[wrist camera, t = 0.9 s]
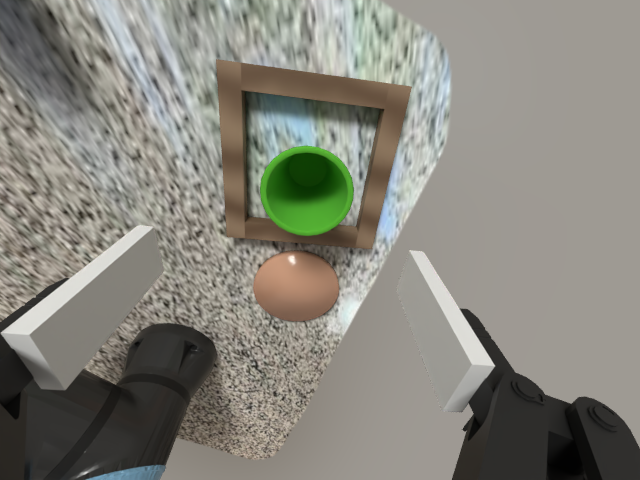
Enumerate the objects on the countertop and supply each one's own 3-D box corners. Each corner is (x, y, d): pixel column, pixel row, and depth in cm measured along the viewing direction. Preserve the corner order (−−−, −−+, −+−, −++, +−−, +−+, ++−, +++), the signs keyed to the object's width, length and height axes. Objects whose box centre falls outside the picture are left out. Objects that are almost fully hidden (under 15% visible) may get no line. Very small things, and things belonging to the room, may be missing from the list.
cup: (344, 195, 37) (356, 230, 28) (280, 203, 37) (270, 241, 28) (339, 126, 33) (351, 140, 23) (266, 135, 33) (249, 153, 23)
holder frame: (369, 242, 41) (371, 249, 39) (230, 230, 39) (226, 236, 37) (406, 86, 31) (411, 86, 29) (221, 61, 29) (216, 59, 27)
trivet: (332, 318, 49) (332, 323, 48) (254, 313, 47) (253, 318, 46) (344, 254, 42) (345, 258, 41) (254, 246, 41) (253, 251, 40)
